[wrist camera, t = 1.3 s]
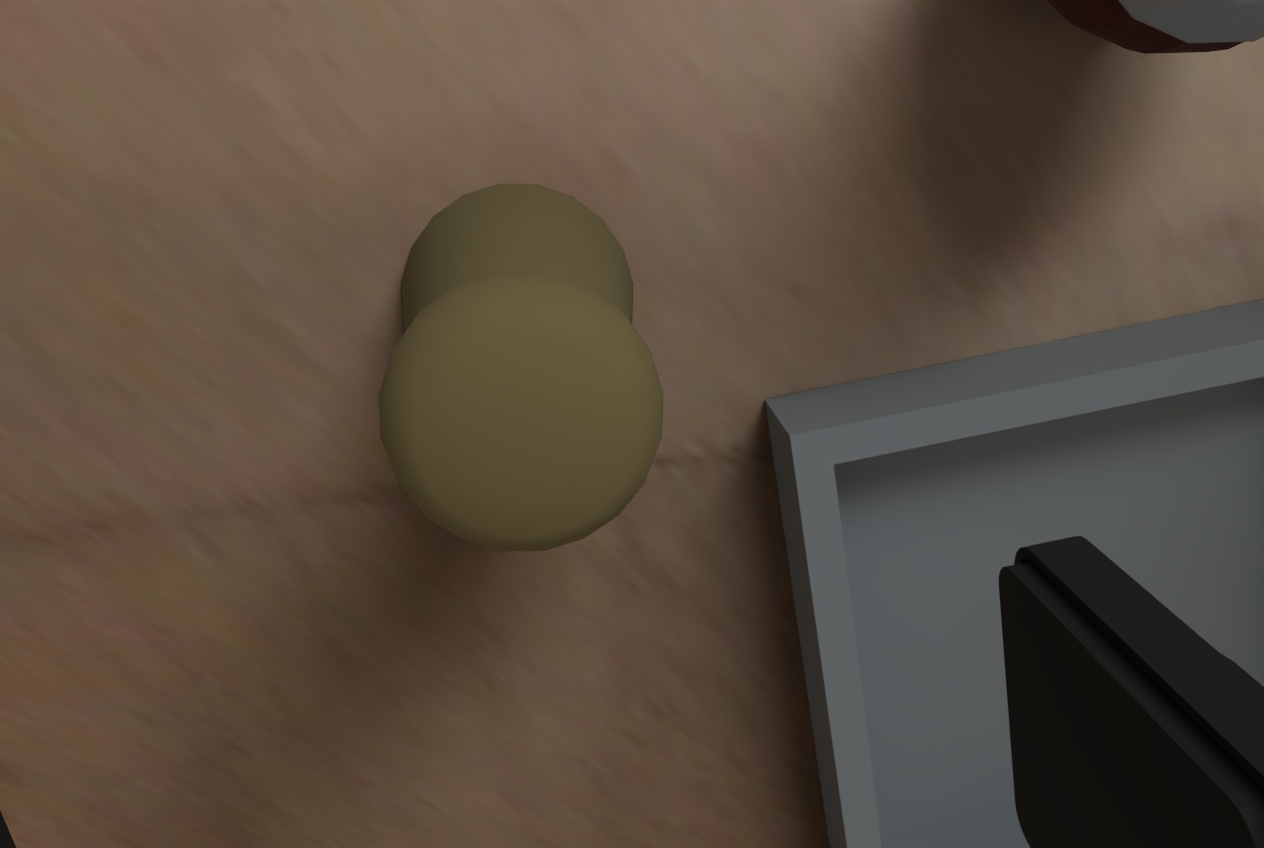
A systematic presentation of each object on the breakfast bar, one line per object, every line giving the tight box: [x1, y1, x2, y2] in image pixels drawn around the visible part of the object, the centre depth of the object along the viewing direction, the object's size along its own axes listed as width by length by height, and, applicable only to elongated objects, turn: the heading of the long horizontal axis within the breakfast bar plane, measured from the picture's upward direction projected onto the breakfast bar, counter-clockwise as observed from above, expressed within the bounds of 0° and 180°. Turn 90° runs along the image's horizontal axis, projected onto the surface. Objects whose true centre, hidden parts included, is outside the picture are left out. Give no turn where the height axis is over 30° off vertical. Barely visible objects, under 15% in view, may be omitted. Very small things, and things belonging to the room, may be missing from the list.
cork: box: [379, 184, 663, 551], centre depth 25 cm, size 6×6×11 cm
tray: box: [765, 299, 1264, 848], centre depth 33 cm, size 16×16×3 cm
